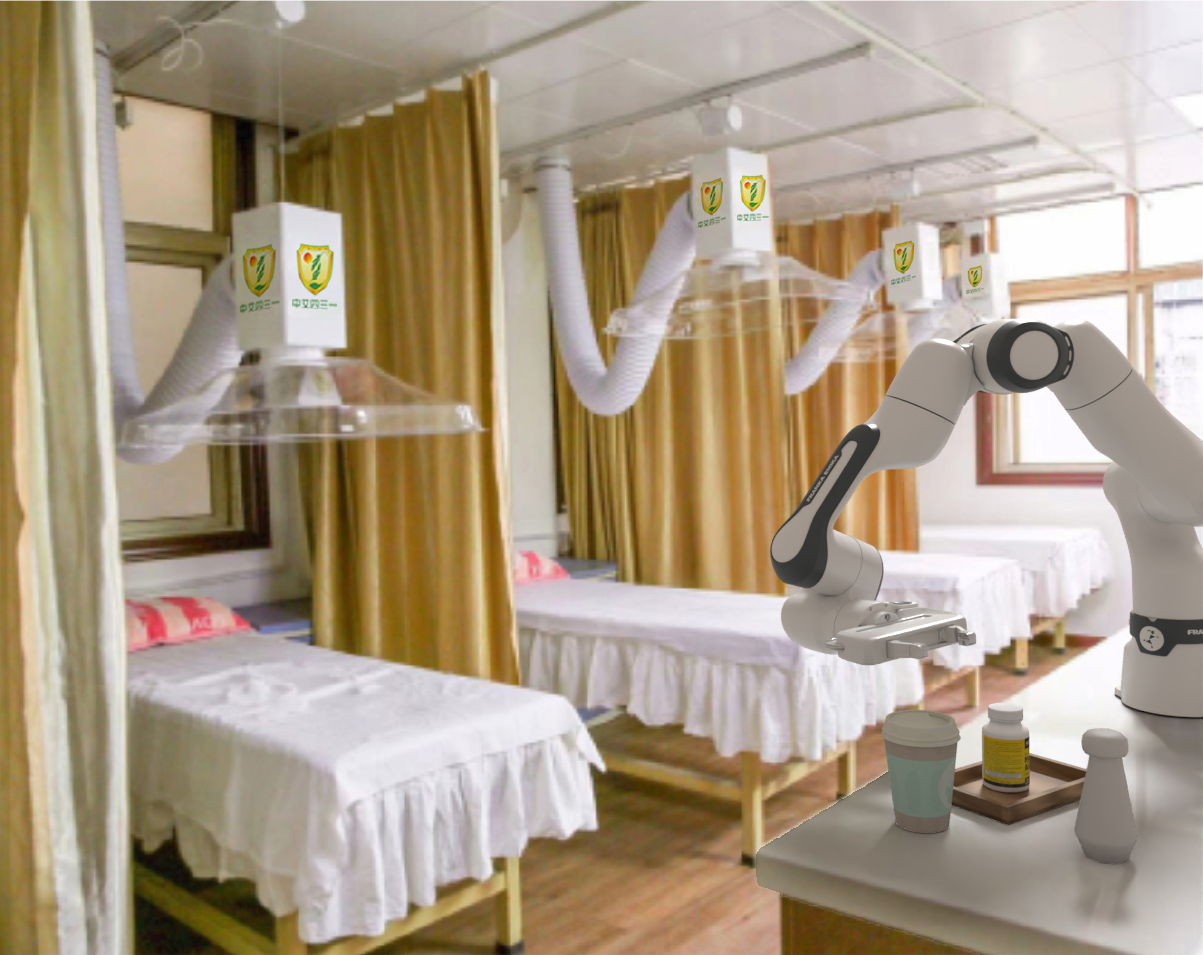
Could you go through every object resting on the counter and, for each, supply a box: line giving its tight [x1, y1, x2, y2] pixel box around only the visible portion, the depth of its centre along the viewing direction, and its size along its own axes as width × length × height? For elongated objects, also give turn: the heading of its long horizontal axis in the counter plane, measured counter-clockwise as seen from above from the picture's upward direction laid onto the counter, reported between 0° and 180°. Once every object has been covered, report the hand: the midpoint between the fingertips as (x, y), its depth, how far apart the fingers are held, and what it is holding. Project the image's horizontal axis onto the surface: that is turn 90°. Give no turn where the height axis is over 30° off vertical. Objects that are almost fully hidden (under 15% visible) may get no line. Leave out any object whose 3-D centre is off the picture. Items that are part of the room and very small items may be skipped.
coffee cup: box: [880, 709, 961, 834], centre depth 118 cm, size 8×8×12 cm
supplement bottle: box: [981, 702, 1030, 793], centre depth 127 cm, size 5×5×10 cm
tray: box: [951, 752, 1087, 826], centre depth 127 cm, size 18×12×2 cm, turn 122°
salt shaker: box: [1073, 727, 1138, 865], centre depth 108 cm, size 6×6×13 cm
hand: (948, 645), depth 139 cm, fingers open, 8 cm apart
